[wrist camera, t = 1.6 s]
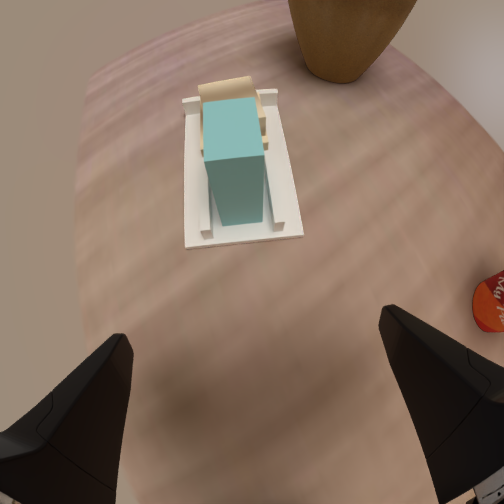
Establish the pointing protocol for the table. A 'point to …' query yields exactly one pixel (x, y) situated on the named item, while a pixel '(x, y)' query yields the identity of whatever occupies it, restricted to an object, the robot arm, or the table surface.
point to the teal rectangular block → (234, 159)
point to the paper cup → (490, 304)
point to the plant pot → (345, 33)
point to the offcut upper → (233, 94)
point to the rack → (274, 198)
